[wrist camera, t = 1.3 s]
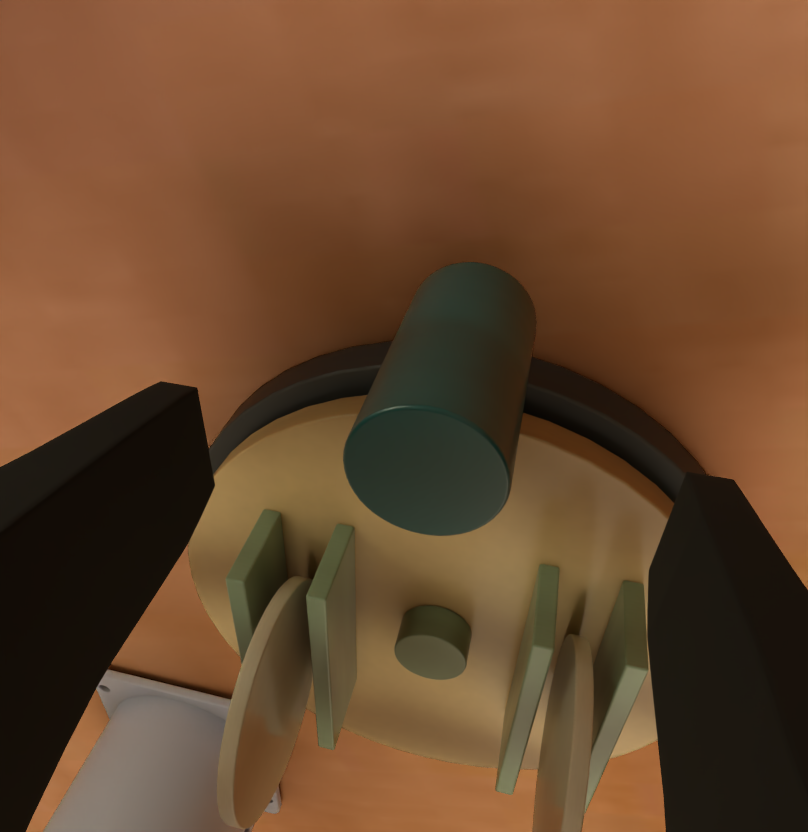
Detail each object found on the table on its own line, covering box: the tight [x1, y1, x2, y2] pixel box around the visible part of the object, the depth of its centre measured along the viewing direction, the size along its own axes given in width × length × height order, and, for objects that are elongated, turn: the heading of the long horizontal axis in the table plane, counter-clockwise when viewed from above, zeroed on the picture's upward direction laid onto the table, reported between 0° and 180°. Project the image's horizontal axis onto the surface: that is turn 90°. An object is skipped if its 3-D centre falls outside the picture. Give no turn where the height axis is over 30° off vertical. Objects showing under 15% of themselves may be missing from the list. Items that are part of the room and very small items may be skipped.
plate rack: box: [188, 262, 674, 832], centre depth 16 cm, size 18×15×7 cm
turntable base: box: [209, 341, 706, 503], centre depth 21 cm, size 16×16×1 cm
